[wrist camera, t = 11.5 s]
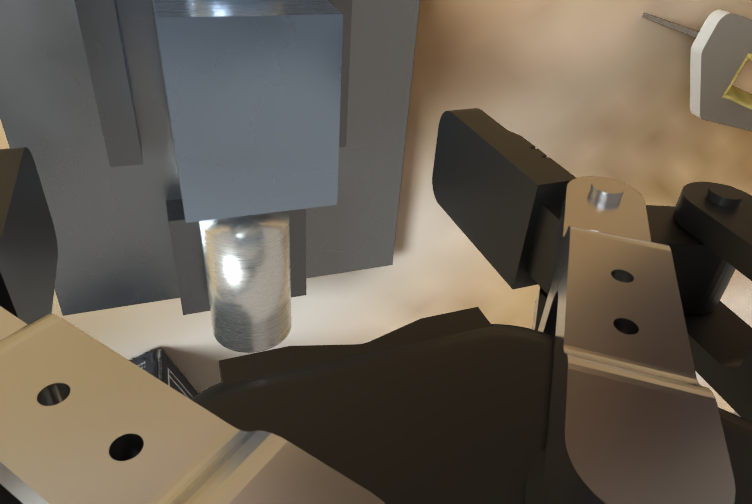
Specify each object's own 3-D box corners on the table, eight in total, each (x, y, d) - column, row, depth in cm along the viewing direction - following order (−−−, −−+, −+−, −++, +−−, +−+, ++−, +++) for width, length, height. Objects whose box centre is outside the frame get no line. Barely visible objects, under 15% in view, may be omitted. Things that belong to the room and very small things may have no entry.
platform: (731, 181, 35) (832, 241, 30) (485, 137, 27) (566, 208, 22) (872, -31, 29) (1025, 0, 24) (610, -165, 21) (758, -159, 16)
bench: (383, 250, 28) (430, 328, 24) (65, 296, 24) (52, 401, 20) (441, -372, 16) (556, -440, 12) (-180, -500, 12) (-348, -677, 8)
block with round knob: (140, -83, 17) (148, -36, 11) (279, -79, 18) (344, -34, 13) (173, 143, 21) (190, 254, 16) (284, 134, 22) (336, 234, 17)
